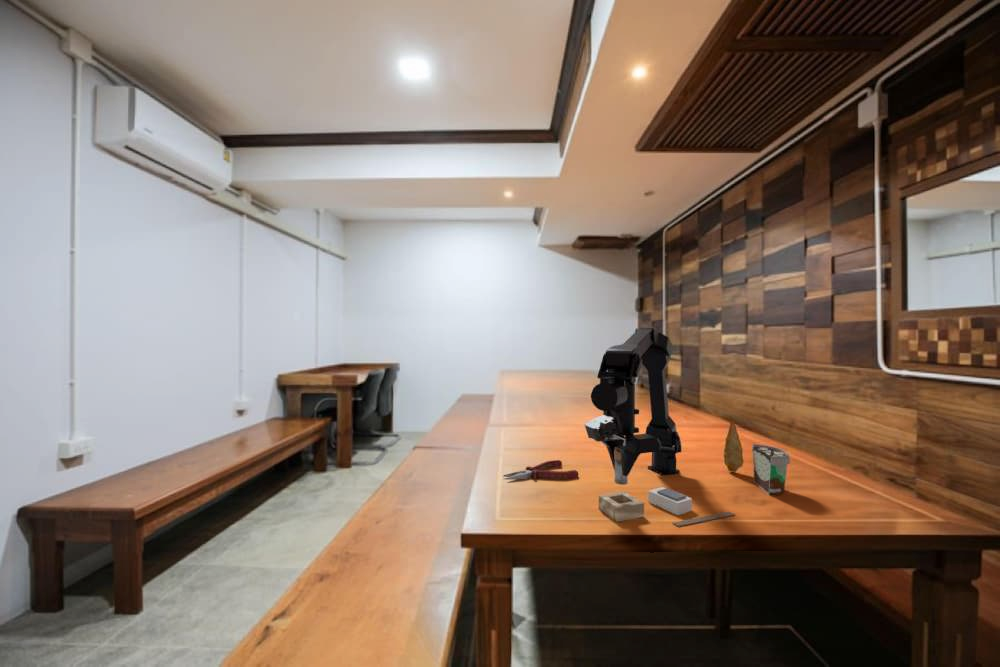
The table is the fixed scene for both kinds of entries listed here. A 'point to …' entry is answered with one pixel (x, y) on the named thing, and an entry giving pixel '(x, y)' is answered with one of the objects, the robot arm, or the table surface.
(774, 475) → the food container
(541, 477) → the pliers
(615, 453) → the flashlight
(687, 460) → the table surface
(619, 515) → the socket block
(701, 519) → the bar
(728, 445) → the stone tool
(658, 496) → the stud finder
